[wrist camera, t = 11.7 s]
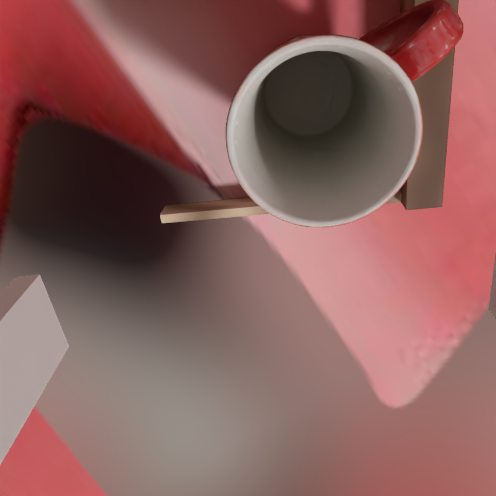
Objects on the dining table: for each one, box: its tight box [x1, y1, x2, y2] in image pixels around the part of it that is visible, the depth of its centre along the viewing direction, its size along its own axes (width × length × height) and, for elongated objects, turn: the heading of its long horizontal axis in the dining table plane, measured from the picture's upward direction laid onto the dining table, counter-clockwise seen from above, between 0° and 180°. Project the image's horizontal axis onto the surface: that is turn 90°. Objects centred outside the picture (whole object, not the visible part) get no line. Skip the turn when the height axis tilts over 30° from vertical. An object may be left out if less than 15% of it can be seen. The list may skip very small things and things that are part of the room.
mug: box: [226, 0, 463, 227], centre depth 27 cm, size 13×9×14 cm
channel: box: [160, 0, 459, 223], centre depth 32 cm, size 21×17×4 cm
